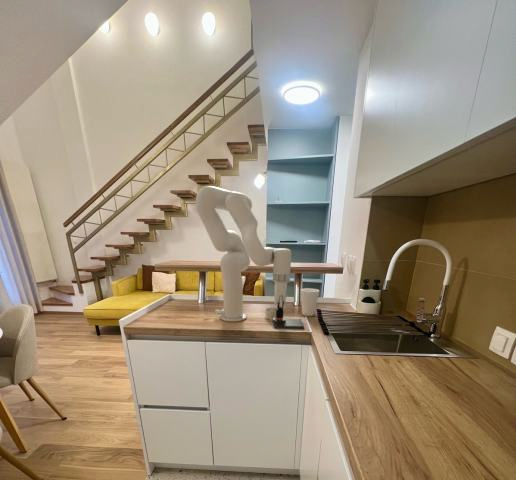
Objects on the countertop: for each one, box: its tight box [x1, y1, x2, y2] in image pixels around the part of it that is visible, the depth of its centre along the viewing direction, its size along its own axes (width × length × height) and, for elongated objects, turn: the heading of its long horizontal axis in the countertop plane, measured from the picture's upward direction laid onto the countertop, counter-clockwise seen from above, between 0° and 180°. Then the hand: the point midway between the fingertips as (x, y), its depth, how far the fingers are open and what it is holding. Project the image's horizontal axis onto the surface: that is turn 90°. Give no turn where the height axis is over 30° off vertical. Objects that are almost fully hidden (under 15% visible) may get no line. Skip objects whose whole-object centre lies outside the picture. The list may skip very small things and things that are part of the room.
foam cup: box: [300, 287, 320, 317], centre depth 147 cm, size 10×9×13 cm
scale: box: [272, 317, 305, 330], centre depth 131 cm, size 14×11×3 cm
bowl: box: [265, 307, 277, 321], centre depth 141 cm, size 7×7×5 cm
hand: (279, 317), depth 130 cm, fingers closed
